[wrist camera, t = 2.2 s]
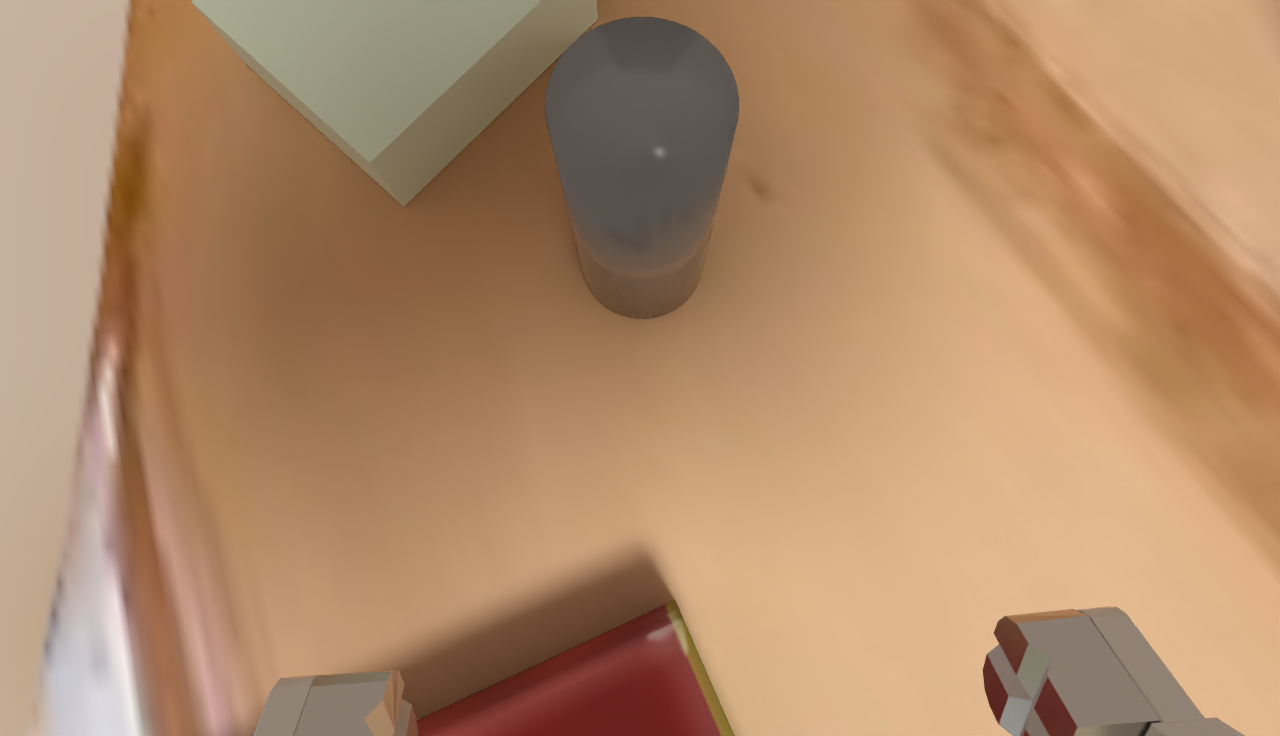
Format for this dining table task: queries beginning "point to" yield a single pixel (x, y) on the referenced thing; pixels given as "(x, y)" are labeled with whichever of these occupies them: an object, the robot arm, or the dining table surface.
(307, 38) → the block
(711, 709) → the hardcover book
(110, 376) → the dining table surface
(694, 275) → the slate jar
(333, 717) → the robot arm
